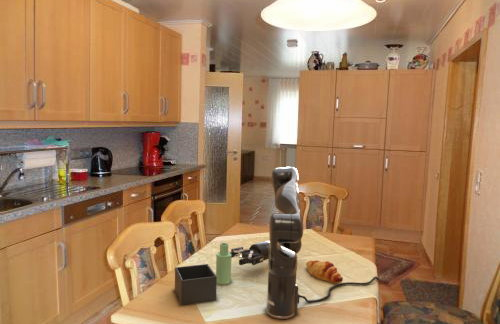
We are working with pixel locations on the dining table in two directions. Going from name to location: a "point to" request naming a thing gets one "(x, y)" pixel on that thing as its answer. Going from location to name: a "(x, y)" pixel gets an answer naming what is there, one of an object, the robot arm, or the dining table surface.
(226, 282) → the bottle
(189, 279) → the bin
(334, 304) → the dining table surface
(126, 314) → the dining table surface
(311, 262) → the croissant
